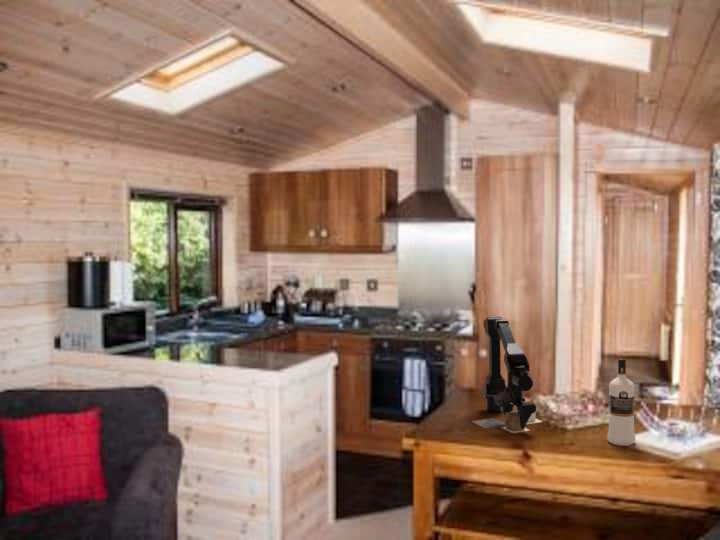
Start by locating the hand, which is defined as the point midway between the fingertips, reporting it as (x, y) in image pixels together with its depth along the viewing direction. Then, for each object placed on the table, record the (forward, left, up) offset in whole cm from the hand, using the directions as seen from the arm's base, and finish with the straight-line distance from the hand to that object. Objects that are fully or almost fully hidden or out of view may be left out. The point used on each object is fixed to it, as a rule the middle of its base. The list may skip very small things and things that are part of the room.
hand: (515, 425), depth 252 cm
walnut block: (0, 0, -1) cm, 1 cm away
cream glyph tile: (0, 0, -2) cm, 2 cm away
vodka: (+28, +25, -2) cm, 38 cm away
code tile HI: (-7, +11, -2) cm, 13 cm away
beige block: (-7, +11, -1) cm, 13 cm away
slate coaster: (-10, -5, -2) cm, 11 cm away
